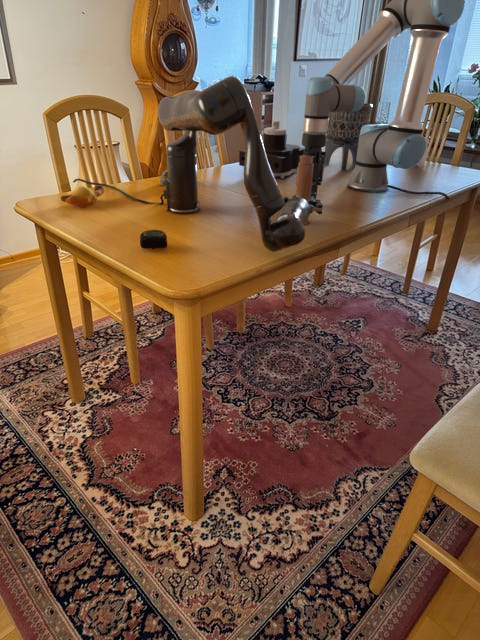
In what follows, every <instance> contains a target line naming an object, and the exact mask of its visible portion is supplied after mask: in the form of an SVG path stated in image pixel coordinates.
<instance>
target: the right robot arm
mask: <svg viewBox="0 0 480 640" xmlns="http://www.w3.org/2000/svg"><path fill="white" fill-rule="evenodd" d="M465 3H466V0H391V1H389V3H387V5H385V7H383V9H382V10H381V11H379V13H378V15H377V20H376V21H375V22H373V24H372V25H371V26H370V27H369V28H368V29H367V30H366V31H365V32H364V34H363V35H361V37H360V38H359V39H358V40H357V41H356V42H355V43H354V44H353V45H352V47H350V48H349V50H347V51H346V53H345V54H343V56H342V57H341V58H340V59H339V60H338V61H337V62H336V63H335V65H333V67H332V68H331V69H330V70H329V71H328V72H327V73H326V74H325V75H324V76H323V77H322V76H312V77H310V78H309V79H308V80H307V85H306V90H305V104H304V116H303V117H304V118H303V128H302V131H303V133H302V137H301V145H302V146H303V148H305V150H304V153H303V155H311V156H313V163H314V167H313V177H312V187H311V191H314V192H316V197H315V198H316V199H315V201H316V200H317V196H318V195H317V194H318V186H322V182H323V178H324V177H323V176H324V168H325V167H324V166H325V165H324V159H325V156H326V152H325V151H323V149H322V148H325V145H326V136H327V135H326V134H325V133H326V132H327V128H328V118H329V112H353V111H358V110H360V109H361V108H362V106H363V105H364V103H366V101H365V100H366V91H365V89H364V87H363V86H361V85H357V84H350V83H351V82H352V81H354V79H355V78H356V77H357V76H358V75H359V74H360V73H361V72H362V70H364V68H365V67H366V66H367V65H368V64H370V62H371V61H372V60H373V59H374V58H375V57H376V56H377V55H378V54H379V53H380V52H381V51H382V49H384V47H385V46H386V45H388V43H389V42H390V41H391V40H392V39H396V38H398V37H400V35H401V34H402V33H403V32H405V31H406V30H409V33H410V34H411V36H412V43H411V47H410V51H409V56H408V59H407V63H406V68H405V72H404V77H403V80H402V84H401V85H402V86H401V89H400V93H399V99H398V101H397V102H398V103H397V107H396V111H395V115H394V118H393V120H392V121H391V122H389V123H386V124H384V123H383V124H382V123H381V124H369V125H364V126H363V127H362V128H361V131H360V135H359V142H358V150H357V158H356V165H355V166H354V167H353V171H351V174H350V176H349V179H348V180H347V181H348V182H347V187H348V188H349V189H351V190H354V191H358V192H363V193H364V192H365V193H382V192H386V191H388V189H393V190H396V191H399V192H402V193H406V194H411V195H441V196H443V197H444V198H445V199H446V200H450V197H449V195H448V194H447V193H445V192H442V191H412V190H407V189H405V188H404V189H403V188H400V187H397V186H394V185H391V184H389V178H388V173H387V172H388V171H387V166H391V167H393V168H395V169H403V170H408V169H411V168H413V167H415V166H417V165H416V163H418V162H419V161H420V160H421V158H422V157H423V155H424V153H425V150H426V142H425V137H424V136H423V132H424V127H423V125H422V117H423V113H424V110H425V106H426V102H427V98H428V94H429V91H430V87H431V83H432V79H433V75H434V71H435V68H436V63H437V59H438V56H439V52H440V48H441V44H442V41H443V39H445V38H446V37H447V36H449V33H450V29H451V27H452V26H454V24H456V23H457V22H458V20H459V19H461V17H462V15H463V14H464V13H463V12H464V9H465V5H466V4H465ZM299 162H300V155H299V156H298V163H299ZM297 175H298V172H297ZM297 175H296V176H297ZM295 186H296V187H297V182H295Z"/></svg>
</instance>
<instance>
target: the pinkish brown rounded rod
mask: <svg viewBox="0 0 480 640" xmlns="http://www.w3.org/2000/svg"><path fill="white" fill-rule="evenodd" d="M313 167H314V163H313V156H311V155H301V156H300V162H299V163H298V171H297V173H298V175H296V183H297V187H296V188H295V195H296V197H300V198H303V199H305V200H306V199H310V197H311V187H312V177H313ZM308 223H309V219H308V220H307V222H306V223H305V225H308Z"/></svg>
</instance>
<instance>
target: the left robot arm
mask: <svg viewBox="0 0 480 640" xmlns="http://www.w3.org/2000/svg"><path fill="white" fill-rule="evenodd" d="M157 110H158V111H157V114H158V115H157V116H158V120H159V123H160V125H161V126H162V128H163V129H164V130H165V131H169V132H183V134H182V135H181V136H180V137H178V138H177V139H176V140H174V141H171V142H169V143H168V144H167V145H166V147H165V150H166V165H167V169H168V180H166V186H165V189H164V190H163V193H162V194H160V197H159V198H160V202H159V203H158V205H160V206H161V205H164V204H165V200H166V208H167V209H166V210H167V211H169V212H172V213H175V214H182V215H183V214H185V215H186V214H192V213H197V212H198V211H199V206H200V200H199V185H198V184H199V183H198V152H197V151H198V149H197V147H198V132H203V133H206V134H208V135H210V136H218V135H222V134H224V133H225V132H228V131H229V130H231V129H233V128H235V127H237V126H238V125H239V126H240V128H241V130H242V134H243V139H244V150H245V162H244V166H243V183H244V187H245V189H246V193H247V195H248V197H249V199H250V202H251V203H252V205H253V207H254V209H255V212H256V215H257V220H258V223H259V229H260V236H261V242H262V245H263V246H264V247H265V249H266V250H267V251H269V252H271V253H275V252H277V253H278V252H280V251H283V250H286V249H288V248H291V247H294V246H297V245H299V244H301V243H302V242H303V241H304V240H305V238H306V230H305V225H306V224H305V223H306V222H307V220H308V221H309V217H310V216H311V214H313V213H314V212H315V213H317V214H318V215H322V214H323V210H324V209H323V207H324V206H323V203H322V201H321V200H320V199H317V197H316V198H314V196H311V198H310V199H306V200H305V199H303V198H300V197H296V194H294V195H291V196H290V197H288V196H283V194H282V192H281V190H280V187H279V185H278V182H277V180H276V178H275V176H273V173H272V171H271V168H270V165H269V162H268V159H267V156H266V152H265V149H264V140H263V138H262V134H261V132H260V127H259V125H258V121H257V117H256V114H255V110H254V108H253V105H252V102H251V99H250V96H249V94H248V92H247V90H246V88H245V86H244V84H243V82H241V80H240V79H239V78H238V77H236V76H234V75H229V76H226V77H225V78H223V79H221V80H219V81H218V82H215V83H213V84H212V85H210V86H207V88H204V89H203V90H190V91H187V92H185V93H183V94H180V95H177V96H175V95H174V96H165V97H163V98H162V99H161V100H160V102H159V104H158V109H157ZM77 181H78V182H79V181H80V182H82V183H84V184H89V185H95V186H99V185H100V186H102V187H106V188H110V189H114V190H115V191H117V192H120V194H122V195H124V196H126V197H128V198H129V199H131V200H133V201H135V202H140V203H142V204H146V205H147V204H149V205H153V204H154V205H155V203H153V202H150V201H146V200H143V199H139V198H135V197H134V196H132V195H130V194H128V193H126V192H125V191H123V190H122V189H120V188H118V187H116V186H113V185H110V184H106V183H99V182H94V181H93V182H92V181H88V180H85V179H82V178H75V179H73V180H72V183H76V182H77ZM315 199H316V201H315ZM278 212H279V214H278V215H277V217H276V220H275V221H272V217H273V216H274V215H275V214H277V213H278Z"/></svg>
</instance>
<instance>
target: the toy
mask: <svg viewBox="0 0 480 640" xmlns="http://www.w3.org/2000/svg"><path fill="white" fill-rule="evenodd" d="M104 192H105V188H104V186H101V185H95V186H94V189H92V188H90V187H87V186H85V185H79V186H78V187H77V188H76V189H74V191H73V192H71V193H70V194H67V195H61V196H60V201H61V202H63V203H66V204H68V205H72V206H73V205H74V206H77V207H82V208H85V207H90V206H93V205H95V204H96V203H97V202H98V198H99V197H100V196H102V195H103V194H104Z"/></svg>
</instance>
